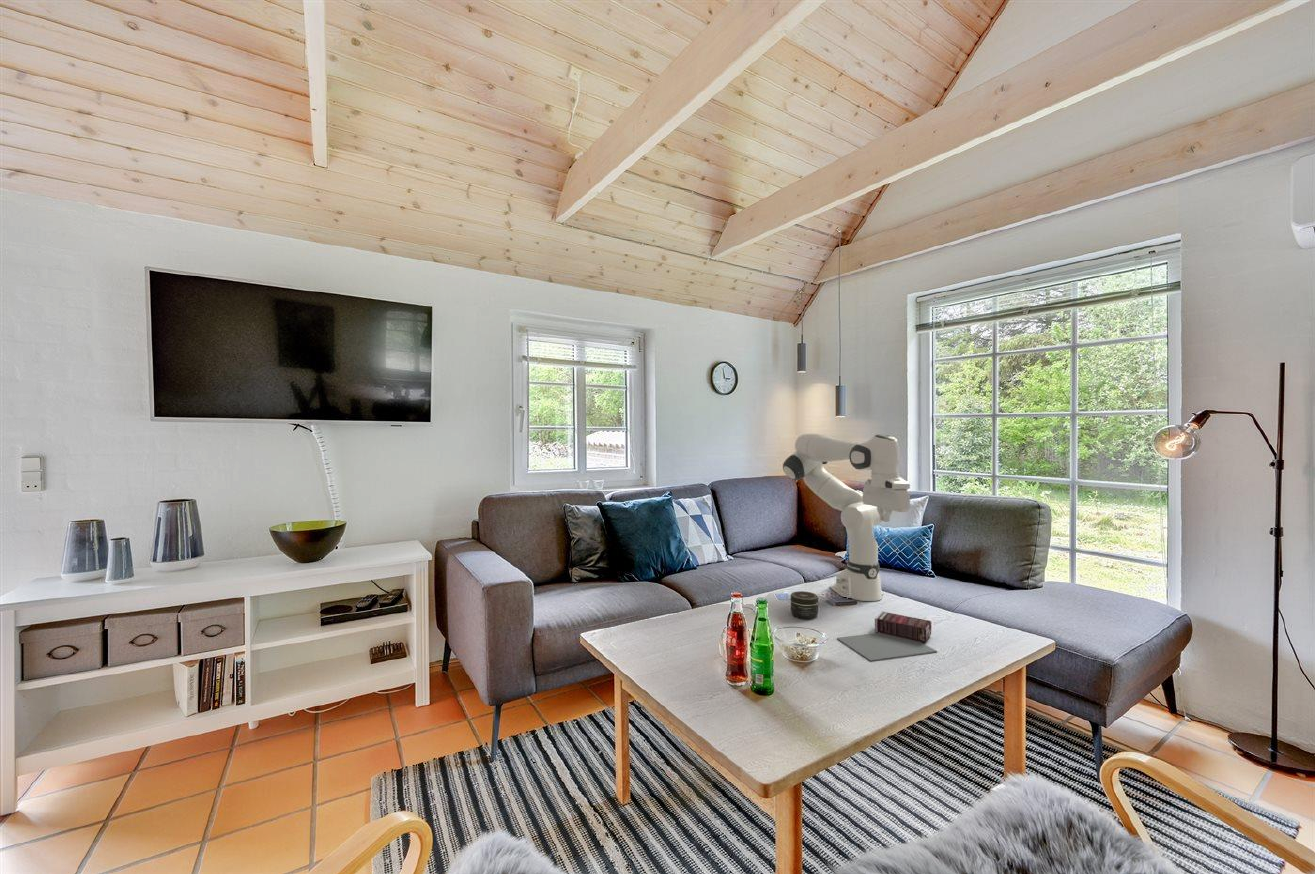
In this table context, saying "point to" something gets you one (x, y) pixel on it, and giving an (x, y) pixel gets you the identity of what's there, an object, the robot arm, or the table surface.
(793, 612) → the jar
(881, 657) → the mat
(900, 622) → the supplement box
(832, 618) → the table surface
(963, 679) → the table surface
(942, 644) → the table surface
